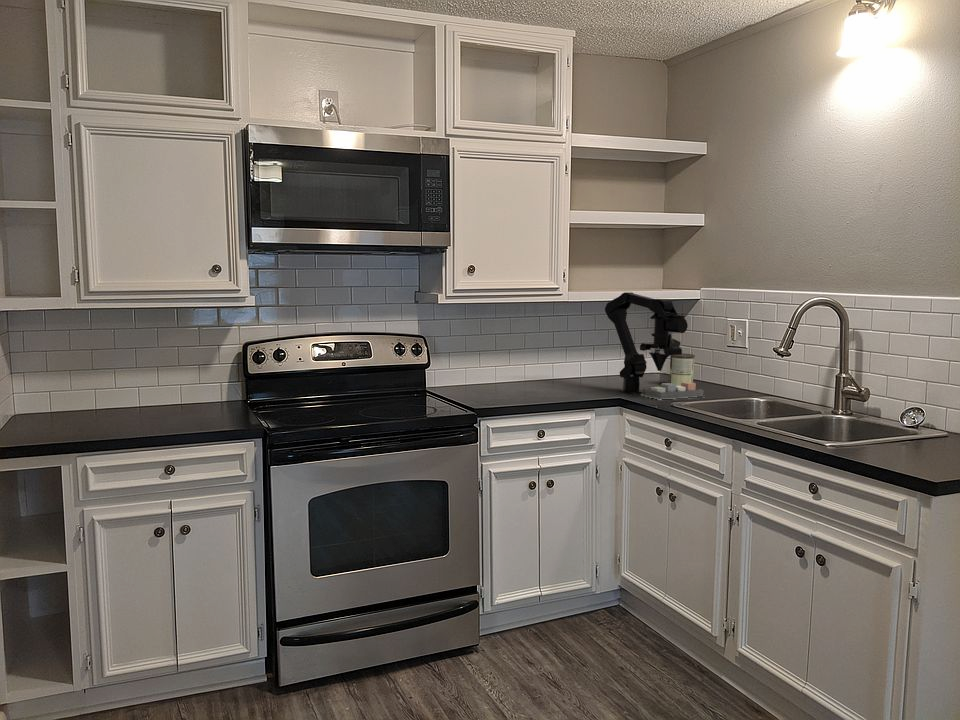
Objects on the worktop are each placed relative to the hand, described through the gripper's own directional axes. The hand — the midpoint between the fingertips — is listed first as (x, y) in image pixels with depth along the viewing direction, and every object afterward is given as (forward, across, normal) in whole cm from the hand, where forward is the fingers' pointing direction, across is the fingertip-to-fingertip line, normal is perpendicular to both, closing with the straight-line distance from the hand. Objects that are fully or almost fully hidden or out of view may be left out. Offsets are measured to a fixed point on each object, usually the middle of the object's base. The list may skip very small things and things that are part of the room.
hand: (659, 370), depth 309 cm
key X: (+8, 0, -5) cm, 10 cm away
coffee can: (+11, +20, -30) cm, 38 cm away
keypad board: (+11, 0, -8) cm, 13 cm away
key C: (+10, 0, -10) cm, 14 cm away
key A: (+10, 0, 0) cm, 10 cm away
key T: (+9, 0, -16) cm, 18 cm away
